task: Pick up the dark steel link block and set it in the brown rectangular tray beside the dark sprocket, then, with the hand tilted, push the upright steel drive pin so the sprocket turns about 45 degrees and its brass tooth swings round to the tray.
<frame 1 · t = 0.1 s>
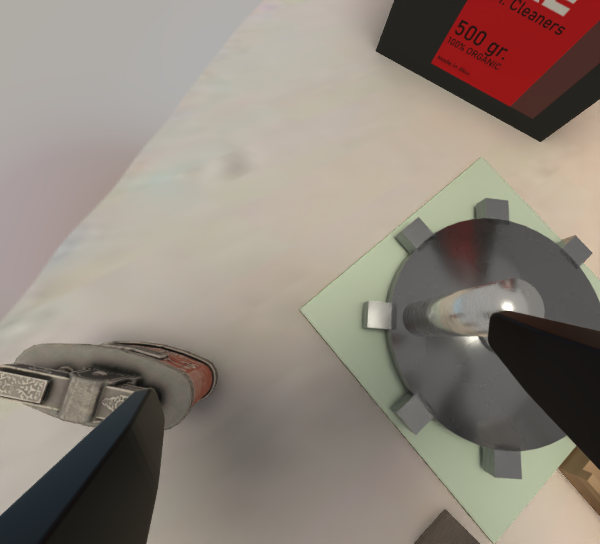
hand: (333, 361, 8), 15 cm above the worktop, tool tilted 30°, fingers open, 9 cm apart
mount plate: (484, 327, 24), on the worktop
sprocket: (549, 324, 19), point 6 cm above the worktop, hinge at 0.0°
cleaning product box: (474, 62, 30), on the worktop
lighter: (159, 369, 22), on the worktop
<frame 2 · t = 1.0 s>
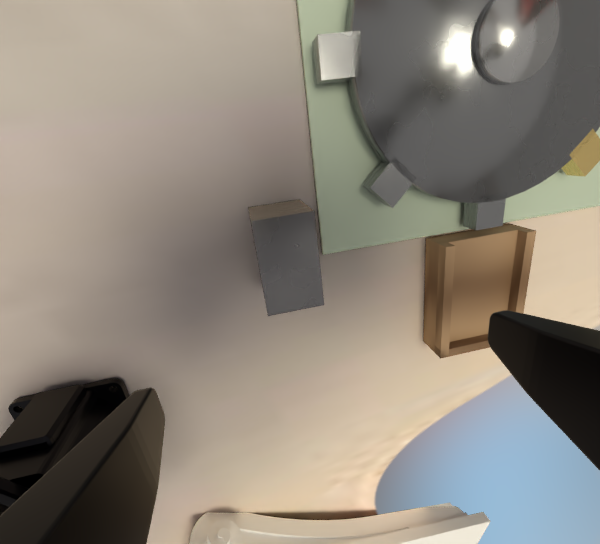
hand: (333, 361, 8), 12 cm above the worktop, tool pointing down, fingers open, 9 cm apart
mount plate: (481, 50, 18), on the worktop
sprocket: (587, 6, 12), point 6 cm above the worktop, hinge at 0.0°
brown rectangular tray: (463, 284, 23), on the worktop
link block: (280, 244, 20), on the worktop
white wedge: (339, 531, 31), on the worktop
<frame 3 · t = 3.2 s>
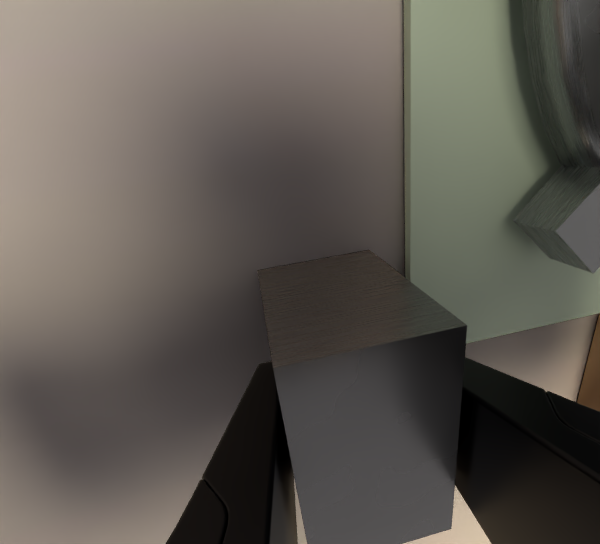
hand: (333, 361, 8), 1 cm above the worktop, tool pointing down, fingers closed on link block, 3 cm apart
link block: (323, 340, 9), on the worktop, touching gripper
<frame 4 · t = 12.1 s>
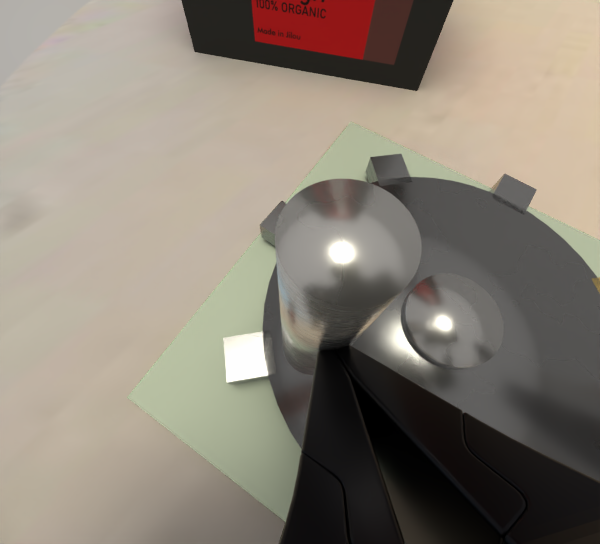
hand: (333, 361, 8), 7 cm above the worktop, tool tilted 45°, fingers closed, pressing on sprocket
mount plate: (428, 332, 16), on the worktop
sprocket: (499, 291, 11), point 6 cm above the worktop, hinge at 2.6°, touching gripper
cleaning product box: (315, 37, 25), on the worktop
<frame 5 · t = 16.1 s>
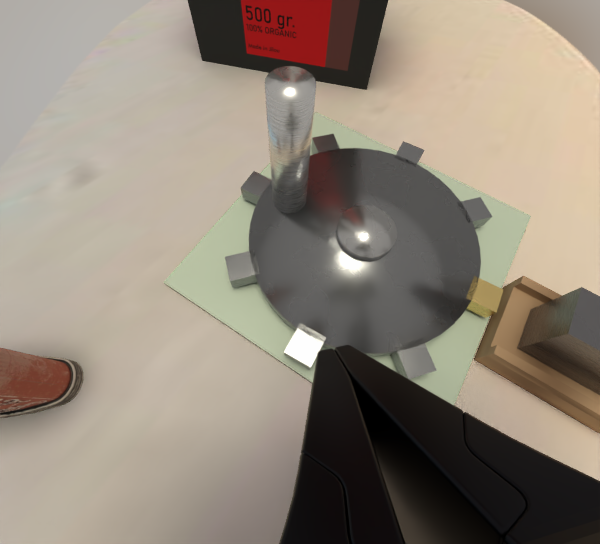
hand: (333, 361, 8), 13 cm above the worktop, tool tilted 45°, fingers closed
mount plate: (359, 248, 24), on the worktop
sprocket: (379, 202, 19), point 6 cm above the worktop, hinge at 41.3°
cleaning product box: (293, 49, 34), on the worktop
brown rectangular tray: (546, 354, 21), on the worktop
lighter: (16, 387, 20), on the worktop
link block: (563, 350, 20), point 1 cm above the worktop, touching brown rectangular tray
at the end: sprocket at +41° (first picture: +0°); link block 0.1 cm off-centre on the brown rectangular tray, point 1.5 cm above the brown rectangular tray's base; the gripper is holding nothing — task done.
